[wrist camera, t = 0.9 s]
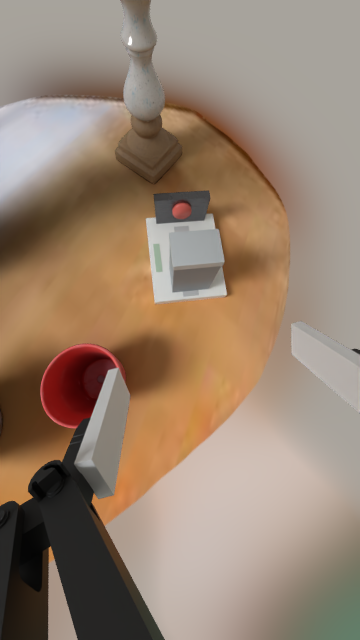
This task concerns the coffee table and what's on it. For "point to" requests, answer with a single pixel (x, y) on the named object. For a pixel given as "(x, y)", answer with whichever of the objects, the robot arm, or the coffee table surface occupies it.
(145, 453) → the coffee table surface
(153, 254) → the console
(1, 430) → the plant pot
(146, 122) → the candle holder
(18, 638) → the robot arm
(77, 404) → the flower pot
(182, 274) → the grey rectangular block
